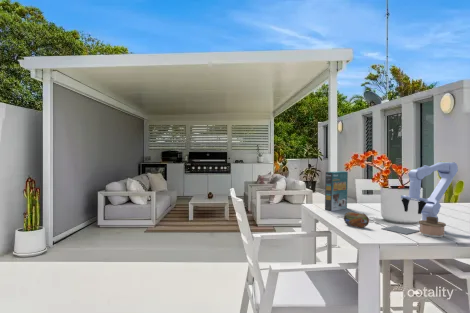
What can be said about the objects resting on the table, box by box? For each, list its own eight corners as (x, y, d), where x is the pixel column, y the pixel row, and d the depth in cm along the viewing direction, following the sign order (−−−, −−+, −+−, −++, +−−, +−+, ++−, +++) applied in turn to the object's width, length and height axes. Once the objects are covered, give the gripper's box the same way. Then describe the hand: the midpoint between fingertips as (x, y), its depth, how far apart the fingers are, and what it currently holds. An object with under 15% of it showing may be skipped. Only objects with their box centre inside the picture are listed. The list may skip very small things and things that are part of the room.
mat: (395, 226, 201) (395, 225, 201) (420, 231, 189) (420, 230, 189) (381, 229, 193) (381, 228, 193) (406, 234, 180) (406, 233, 180)
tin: (343, 224, 204) (343, 211, 204) (345, 223, 206) (346, 210, 206) (367, 228, 193) (367, 214, 193) (369, 228, 196) (369, 214, 196)
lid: (425, 220, 190) (425, 214, 190) (450, 225, 179) (450, 218, 179) (413, 223, 183) (414, 216, 183) (438, 227, 172) (438, 220, 172)
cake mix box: (340, 207, 271) (341, 171, 271) (346, 208, 267) (347, 171, 266) (324, 209, 257) (325, 172, 257) (331, 210, 253) (332, 172, 252)
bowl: (426, 231, 189) (426, 221, 189) (447, 235, 180) (447, 224, 180) (416, 233, 183) (416, 223, 183) (437, 238, 174) (437, 227, 174)
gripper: (399, 187, 194) (396, 210, 194) (424, 191, 183) (422, 215, 182) (405, 188, 198) (402, 210, 198) (430, 191, 187) (428, 215, 186)
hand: (412, 212), depth 191 cm, fingers open, 7 cm apart
